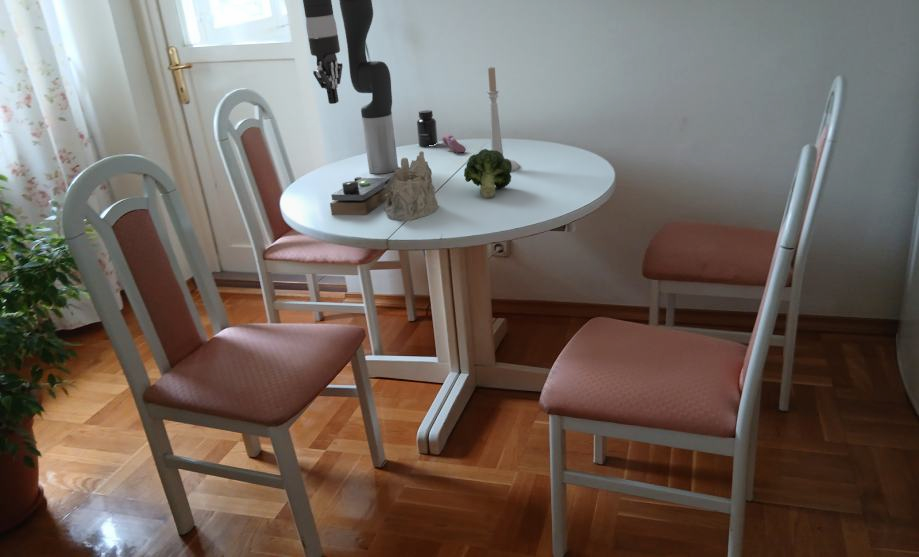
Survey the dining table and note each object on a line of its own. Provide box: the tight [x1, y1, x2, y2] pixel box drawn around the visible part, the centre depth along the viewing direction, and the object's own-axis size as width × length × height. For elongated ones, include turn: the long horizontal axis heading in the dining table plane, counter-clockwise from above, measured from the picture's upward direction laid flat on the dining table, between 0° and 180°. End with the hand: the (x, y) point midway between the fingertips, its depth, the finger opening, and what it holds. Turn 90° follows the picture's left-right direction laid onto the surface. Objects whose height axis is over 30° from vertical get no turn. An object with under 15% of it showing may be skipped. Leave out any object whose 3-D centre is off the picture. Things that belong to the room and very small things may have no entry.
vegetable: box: [463, 148, 512, 199], centre depth 199 cm, size 12×13×15 cm
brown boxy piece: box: [329, 176, 387, 216], centre depth 200 cm, size 20×13×5 cm, turn 162°
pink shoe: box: [441, 134, 467, 153], centre depth 250 cm, size 10×5×7 cm, turn 18°
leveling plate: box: [331, 177, 391, 201], centre depth 198 cm, size 18×9×4 cm, turn 162°
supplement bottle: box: [416, 109, 439, 147], centre depth 262 cm, size 7×7×12 cm
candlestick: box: [486, 66, 520, 172], centre depth 219 cm, size 13×13×30 cm
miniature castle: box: [383, 150, 440, 222], centre depth 188 cm, size 16×16×15 cm
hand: (333, 103), depth 196 cm, fingers closed
